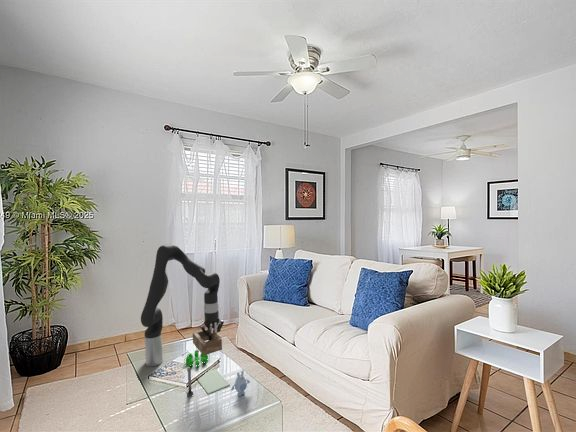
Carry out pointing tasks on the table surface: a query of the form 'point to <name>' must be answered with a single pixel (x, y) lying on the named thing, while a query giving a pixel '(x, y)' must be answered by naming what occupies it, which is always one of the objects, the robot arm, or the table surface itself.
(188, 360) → the green lumpy cluster
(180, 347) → the table surface
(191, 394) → the post stand
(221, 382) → the mat
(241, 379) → the toy figure
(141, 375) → the table surface
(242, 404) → the table surface
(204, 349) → the brown wooden open box
